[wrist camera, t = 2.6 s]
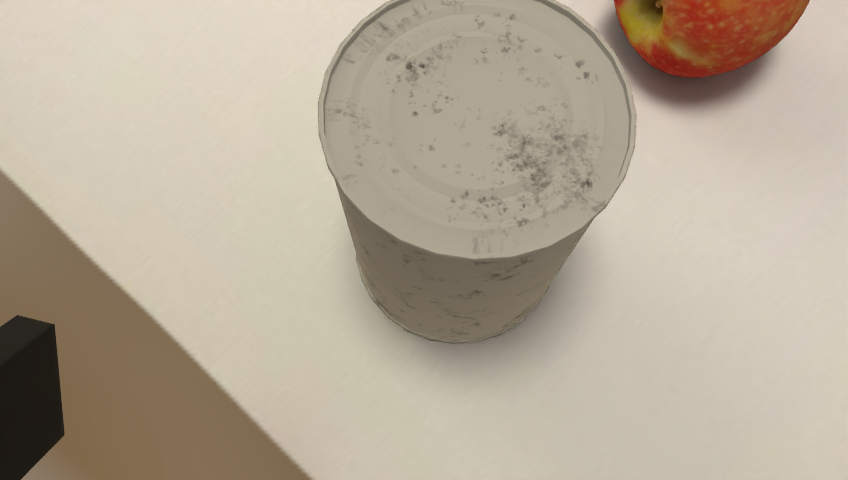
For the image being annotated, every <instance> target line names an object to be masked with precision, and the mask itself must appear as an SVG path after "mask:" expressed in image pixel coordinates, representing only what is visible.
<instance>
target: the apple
mask: <svg viewBox="0 0 848 480" xmlns="http://www.w3.org/2000/svg"><path fill="white" fill-rule="evenodd" d="M809 1H810V0H614V3H615V8H616V14H617V17H618V19H619V22H620V25H621V27H622V29H623V31H624V33H625V35H626V37H627V39H628V41H629V42H630V44H631V45H632V46H633V48H634V49H635V50H636V52H637V53H638V54H639V55H640V56H641V57H642V58H643V59H644V60H645V61H646V62H648V63H649V64H650V65H651V66H652V67H655V68H657V69H659V70H660V71H663V72H666V73H669V74H671V75H675V76H681V77H705V76H712V75H717V74H721V73H725V72H729V71H733V70H735V69H737V68H740V67H742V66H744V65H746V64H748V63H750V62H752V61H754V60H755V59H757V58H759V57H760V56H762V55H763V54H765V53H766V52H768V51H769V50H770V49H771V48H773V47H774V46H775V45H776V44H778V43H779V42H780V41H781V40H782V39H783V38H784V37H785V36H786V35H787V34H788V33H789V32H790V31H791V29H792V28H793V27H794V26H795V24H796V23H797V22H798V20H799V19H800V17H801V16H802V14H803V12H804V11H805V9H806V7H807V5H808V3H809Z"/></svg>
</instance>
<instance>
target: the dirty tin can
mask: <svg viewBox="0 0 848 480" xmlns="http://www.w3.org/2000/svg"><path fill="white" fill-rule="evenodd" d="M636 116H637V115H636V110H635V105H634V100H633V95H632V91H631V86H630V82H629V80H628V78H627V76H626V74H625V72H624V70H623V68H622V65H621V63H620V61H619V59H618V57H617V55H616V54H615V53H614V51H613V50H612V49H611V47H610V46H609V45H608V44H607V42H606V41H605V40H604V39H603V37H602V36H601V35H600V33H599V32H598V31H597V30H596V29H595V28H594V27H592V26H591V25H590V24H589V23H588V22H586V21H585V20H584V19H583V18H582V17H580V16H579V15H578V14H577V13H576V12H574V11H573V10H572V9H570V8H568V7H566V6H565V5H563V4H561V3H559V2H557V1H555V0H390V1H388V2H386V3H384V4H383V5H382V6H380V7H379V8H378V9H376V10H375V11H374V12H372V13H371V14H369V15H368V16H367V17H365V18H364V19H363V20H361V21H360V22H359V23H358V25H357V26H356V27H355V28H354V29H353V30H352V31H351V33H350V34H349V35H348V36H347V37H346V38H345V39H344V41H343V42H342V43H341V44H340V46H339V48H338V50H337V51H336V53H335V55H334V57H333V59H332V61H331V63H330V65H329V67H328V69H327V70H326V72H325V76H324V80H323V85H322V89H321V93H320V97H319V101H318V125H319V137H320V141H321V144H322V148H323V151H324V155H325V159H326V162H327V166H328V168H329V170H330V172H331V174H332V175H333V177H334V179H335V182H336V185H337V188H338V192H339V195H340V199H341V202H342V206H343V209H344V212H345V216H346V219H347V223H348V226H349V230H350V233H351V237H352V240H353V243H354V247H355V250H356V260H357V264H358V267H359V271H360V275H361V278H362V281H363V283H364V285H365V287H366V289H367V290H368V292H369V294H370V296H371V298H372V299H373V301H374V302H375V303H376V304H377V305H378V307H379V308H380V309H381V310H382V311H383V312H384V313H385V314H386V315H387V316H388V317H389V318H390V319H391V320H393V321H394V322H396V323H397V324H399V325H400V326H402V327H403V328H404V329H406V330H407V331H410V332H412V333H415V334H417V335H420V336H422V337H425V338H427V339H430V340H436V341H442V342H449V343H464V342H477V341H481V340H484V339H487V338H491V337H494V336H497V335H500V334H502V333H503V332H505V331H507V330H509V329H510V328H512V327H514V326H516V325H517V324H519V323H520V322H521V321H522V320H523V319H524V318H525V317H526V316H528V315H529V314H530V313H531V312H532V311H533V310H534V309H535V308H536V307H537V305H538V303H539V302H540V300H541V299H542V297H543V296H544V294H545V293H546V291H547V290H548V288H549V285H550V282H551V281H552V279H553V278H554V276H555V275H556V273H557V272H558V271H559V269H560V268H561V266H562V265H563V263H564V262H565V260H566V259H567V257H568V256H569V254H570V253H571V251H572V250H573V249H574V247H575V246H576V244H577V243H578V241H579V240H580V238H581V237H582V235H583V234H584V232H585V231H586V229H587V228H588V227H589V225H590V224H591V222H592V221H593V219H594V218H595V217H596V216H597V215H598V214H599V213H600V212H601V211H603V210H604V209H605V208H606V206H607V205H608V203H609V202H610V200H611V198H612V197H613V195H614V194H615V192H616V191H617V189H618V188H619V186H620V185H621V183H622V181H623V180H624V178H625V176H626V173H627V170H628V167H629V163H630V160H631V157H632V154H633V151H634V148H635V135H636Z"/></svg>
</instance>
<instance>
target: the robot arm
mask: <svg viewBox="0 0 848 480" xmlns="http://www.w3.org/2000/svg"><path fill="white" fill-rule="evenodd" d="M63 436H64V424H63V413H62V402H61V391H60V380H59V368H58V357H57V347H56V336H55V325H54V324H50V323H46V322H42V321H38V320H34V319H31V318H27V317H23V316H19V315H17V316H15V317H14V318H13V319H11V320H10V321H8V322H7V323H5V324H4V325H2V326H1V327H0V480H21V479H22V478H23V476H25V475H26V473H28V471H29V470H30V469H31V468H32V467H33V466H34V465H35V464H36V463H37V462H38V461H39V460H40V459H41V458H42V457H43V456H44V455H45V454H46V453H47V452H48V451H49V450H50V449H51V448H52V447H53V446H54V445H55V444H56V443H57V442H58V441H59V440H60V439H61V438H62V437H63Z"/></svg>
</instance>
